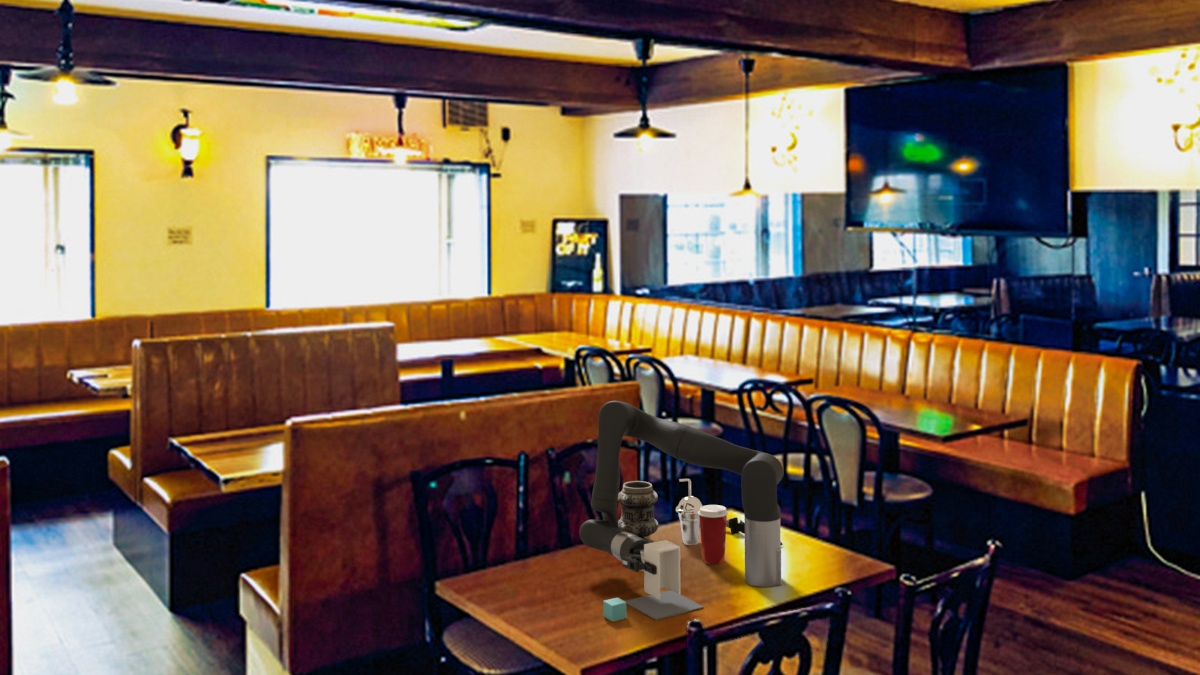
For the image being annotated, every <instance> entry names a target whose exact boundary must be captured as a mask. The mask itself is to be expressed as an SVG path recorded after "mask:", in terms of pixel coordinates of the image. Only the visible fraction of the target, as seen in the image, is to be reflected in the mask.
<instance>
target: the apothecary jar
mask: <svg viewBox="0 0 1200 675" xmlns="http://www.w3.org/2000/svg"><path fill="white" fill-rule="evenodd" d="M658 499H659V497H658V493H657V492H656V491H655V490H654V489H653V485H652V483H650V482H649V481H648V482H647V481H641V480H634V481H633V480H630V481H627V482H624V483H623V485H622V490H621V491H619V494H618V501H617V503H619V504H620V505H621V515H620V519H618V526H619V529H621V530H623V531H625V532H628V533H631V534H634V535H636V536H638V537H640V538H642V539H644V540H647V541H648V542H649V543H653V542H654V540H653V539H650V538H648V537H649V536H652V535H653V534H655V533H656V532H657V531H658V528H659V522H658V521H657V519H655V504H657V502H658Z"/></svg>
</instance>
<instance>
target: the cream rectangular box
mask: <svg viewBox="0 0 1200 675" xmlns="http://www.w3.org/2000/svg"><path fill="white" fill-rule="evenodd" d="M644 559H645V560H647V562H650V563H652V564H654V565H656V567H657V574H655V575H653V574H651V573H649V572H647V571H643V572H644V574H643V576H644V578H643V579H644V580H643V581H644V582H643V584H644V589H643V590H644V592H645V593H647V595H648V594H649V595H652V596H654V597H656V598H657V599H660V593H661V589H665V588H666V589H668V591H669V590H671V591H673V592H675V593H677V594H680V595H682V594H681V590H682V589H681V587H682V586H681V569H680V561H681V546H680V545H677V544H675V543H674V542H671V541H669V540H667V539H664V540H660V541H653V543H648V544H644Z"/></svg>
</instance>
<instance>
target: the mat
mask: <svg viewBox="0 0 1200 675" xmlns="http://www.w3.org/2000/svg"><path fill="white" fill-rule="evenodd" d="M624 601H625V602H626V605H628V606H630V607H632V608H634V609H635V610H637V611H638V612H640V611H641V612H640V613H642V614H643V615H646V616H648V617H649V618H651V619H652V620H654V619H655V621H657V620H662V619H666V618H670V617H673V616H677V615H682V614H686V613H690V612H693V610H694V611H698V610H701V609H700V608H702V609H704V606H703V605H701V604H699V603H697V602H695V601H693V600H692V599H689V598H687V597H686V596H684V595H682V594H677V593H675V592H673V591H671V590H669V589H668V590H666V591H660V599H657V598H656V597H654V596H652V595H650V594H649V595H648V594H647V595H645V596H640V597H636V598H631V599H627V600H624ZM697 609H698V610H697ZM689 611H690V612H689Z"/></svg>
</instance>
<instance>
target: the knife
mask: <svg viewBox="0 0 1200 675" xmlns="http://www.w3.org/2000/svg"><path fill="white" fill-rule="evenodd" d="M738 519H739V518H738V517H737V516H735V517H732V518H728V517H727V520H726V528H728V529H730V534H731V535H736V534H738V533H742V534H743V535H745V521H743V520H742V519H740V521H739V520H738ZM783 545H784V544H783V543H782V540H780V546H783Z"/></svg>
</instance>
